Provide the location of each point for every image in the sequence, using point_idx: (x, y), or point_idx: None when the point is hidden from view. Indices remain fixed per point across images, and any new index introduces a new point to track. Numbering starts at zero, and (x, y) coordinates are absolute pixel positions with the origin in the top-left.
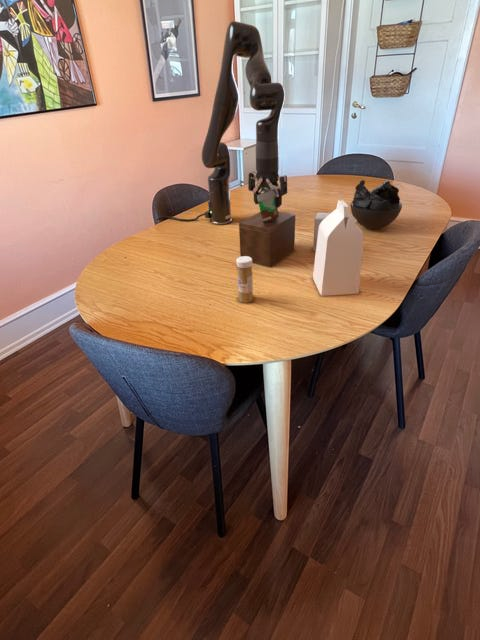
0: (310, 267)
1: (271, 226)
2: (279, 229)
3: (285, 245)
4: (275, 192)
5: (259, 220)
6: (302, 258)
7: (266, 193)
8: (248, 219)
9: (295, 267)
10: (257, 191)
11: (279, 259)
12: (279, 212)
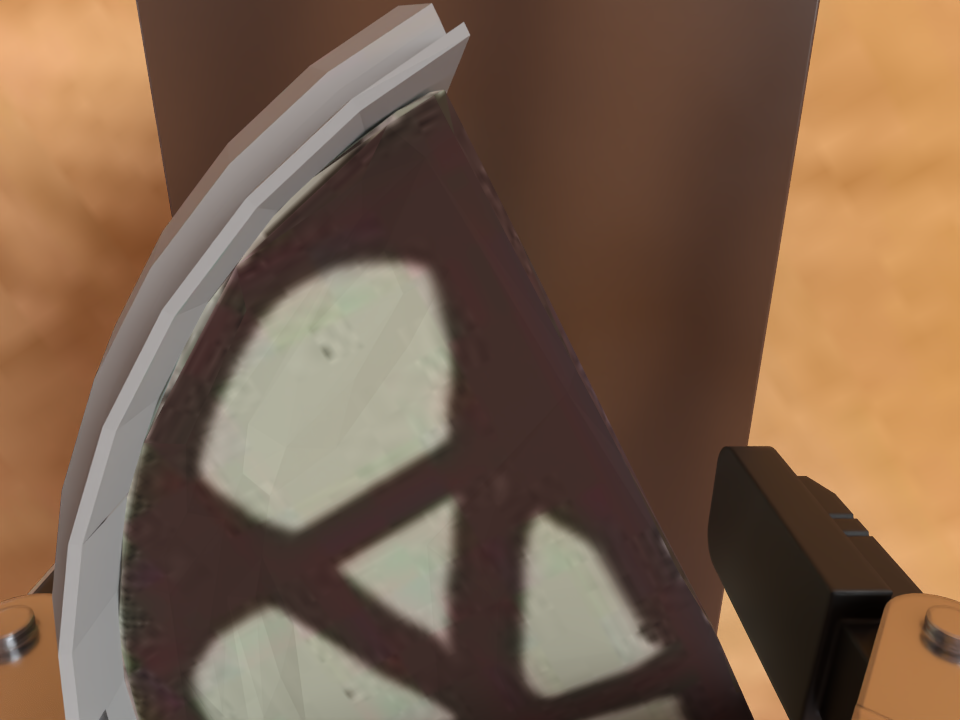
0: (36, 221)
1: (199, 97)
2: None
3: None
4: (35, 696)
5: (541, 248)
6: None
7: (127, 388)
8: (734, 200)
9: (131, 155)
10: (853, 704)
11: None
12: None
